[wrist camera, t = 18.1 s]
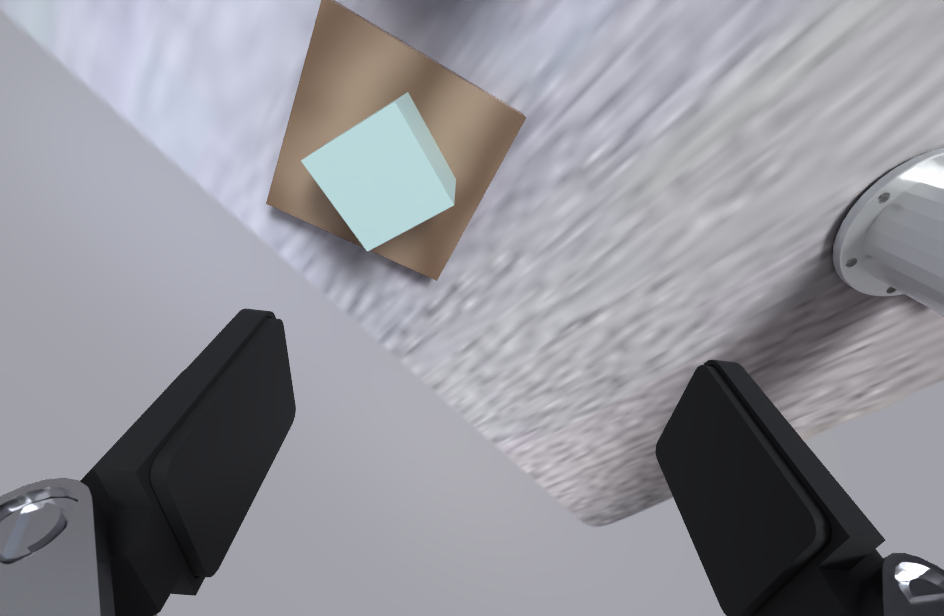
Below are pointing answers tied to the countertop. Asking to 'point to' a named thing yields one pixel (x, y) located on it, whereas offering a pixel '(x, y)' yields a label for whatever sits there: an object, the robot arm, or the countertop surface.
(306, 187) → the wooden peg base
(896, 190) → the robot arm
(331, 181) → the pale blue cube
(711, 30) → the countertop surface
